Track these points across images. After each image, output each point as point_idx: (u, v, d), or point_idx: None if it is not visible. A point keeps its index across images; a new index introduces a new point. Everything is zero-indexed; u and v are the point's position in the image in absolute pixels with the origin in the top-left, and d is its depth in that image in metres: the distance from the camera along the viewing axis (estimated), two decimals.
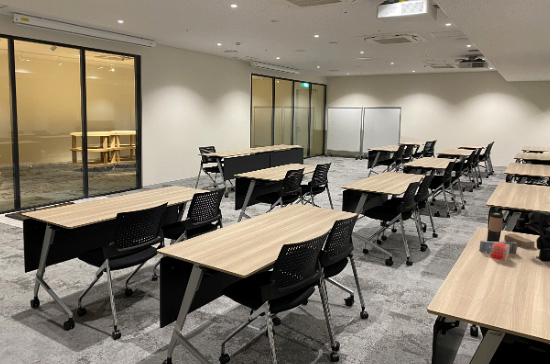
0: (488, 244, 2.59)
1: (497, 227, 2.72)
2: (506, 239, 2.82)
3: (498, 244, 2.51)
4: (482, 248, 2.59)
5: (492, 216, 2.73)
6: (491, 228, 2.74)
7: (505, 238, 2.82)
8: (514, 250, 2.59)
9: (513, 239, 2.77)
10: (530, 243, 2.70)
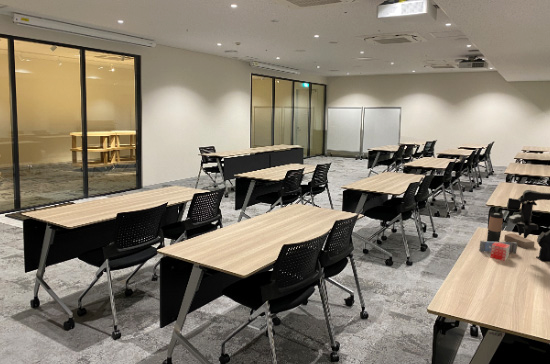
0: (488, 244, 2.59)
1: (497, 227, 2.72)
2: (506, 239, 2.82)
3: (498, 244, 2.51)
4: (482, 248, 2.59)
5: (492, 216, 2.73)
6: (491, 228, 2.74)
7: (505, 238, 2.82)
8: (514, 250, 2.59)
9: (513, 239, 2.77)
10: (530, 243, 2.70)
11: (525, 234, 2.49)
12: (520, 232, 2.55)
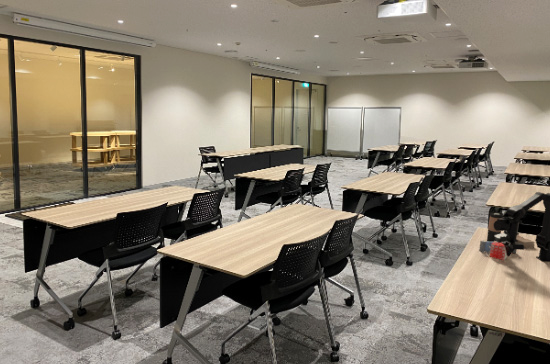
0: (488, 244, 2.59)
1: None
2: None
3: (497, 243, 2.51)
4: (482, 248, 2.59)
5: (492, 216, 2.73)
6: (491, 228, 2.74)
7: None
8: (514, 250, 2.59)
9: None
10: (529, 243, 2.70)
11: (508, 252, 2.42)
12: None
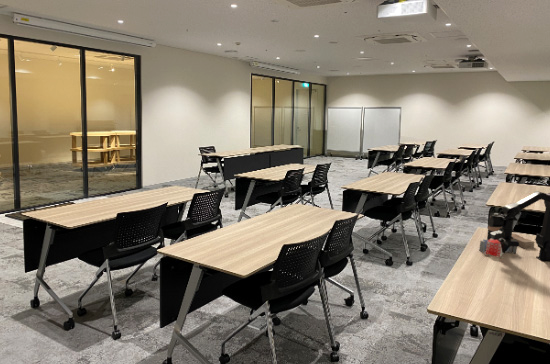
0: (486, 242, 2.63)
1: (497, 227, 2.72)
2: None
3: (493, 241, 2.56)
4: (482, 248, 2.59)
5: None
6: (491, 228, 2.74)
7: None
8: (514, 250, 2.59)
9: (513, 239, 2.77)
10: (529, 243, 2.70)
11: (504, 249, 2.48)
12: None
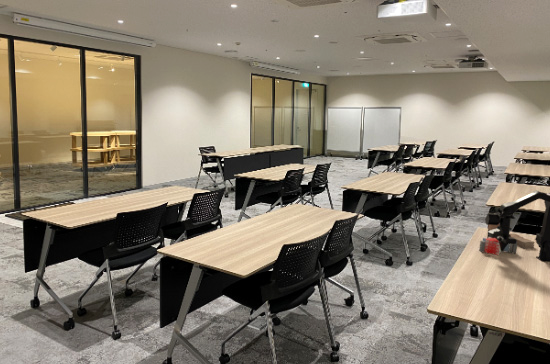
0: None
1: None
2: None
3: (491, 239, 2.59)
4: (482, 248, 2.59)
5: None
6: (491, 228, 2.74)
7: None
8: (514, 250, 2.59)
9: None
10: (529, 243, 2.70)
11: (502, 247, 2.51)
12: None
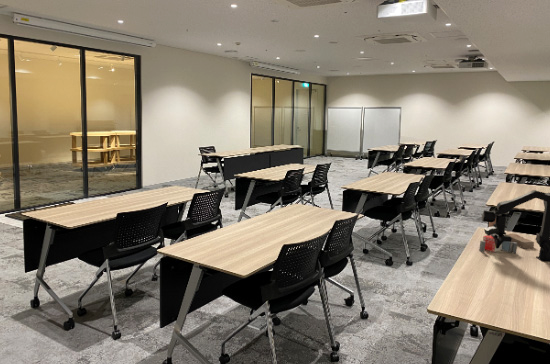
0: None
1: None
2: None
3: (490, 236, 2.64)
4: (482, 248, 2.59)
5: None
6: None
7: None
8: (514, 250, 2.59)
9: (512, 239, 2.77)
10: (529, 243, 2.69)
11: (497, 244, 2.55)
12: None
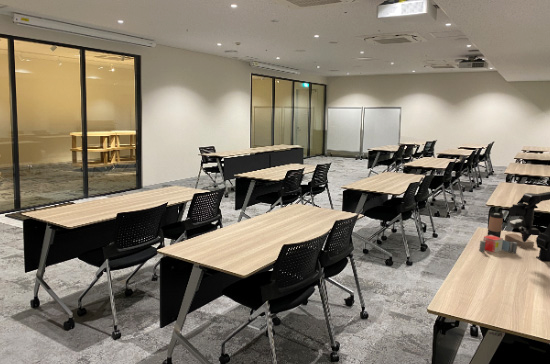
0: None
1: (497, 227, 2.72)
2: (506, 239, 2.82)
3: (490, 237, 2.64)
4: (482, 248, 2.59)
5: (492, 216, 2.73)
6: (491, 228, 2.74)
7: (505, 238, 2.83)
8: (514, 250, 2.59)
9: (512, 239, 2.77)
10: (529, 243, 2.69)
11: (524, 238, 2.44)
12: None
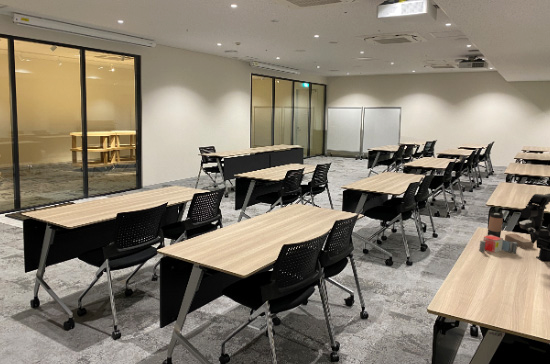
0: None
1: (497, 227, 2.72)
2: (506, 239, 2.82)
3: (491, 237, 2.64)
4: (482, 248, 2.59)
5: (492, 216, 2.73)
6: (491, 228, 2.74)
7: (505, 238, 2.83)
8: (514, 250, 2.59)
9: (512, 239, 2.77)
10: (528, 243, 2.69)
11: (533, 239, 2.41)
12: None
